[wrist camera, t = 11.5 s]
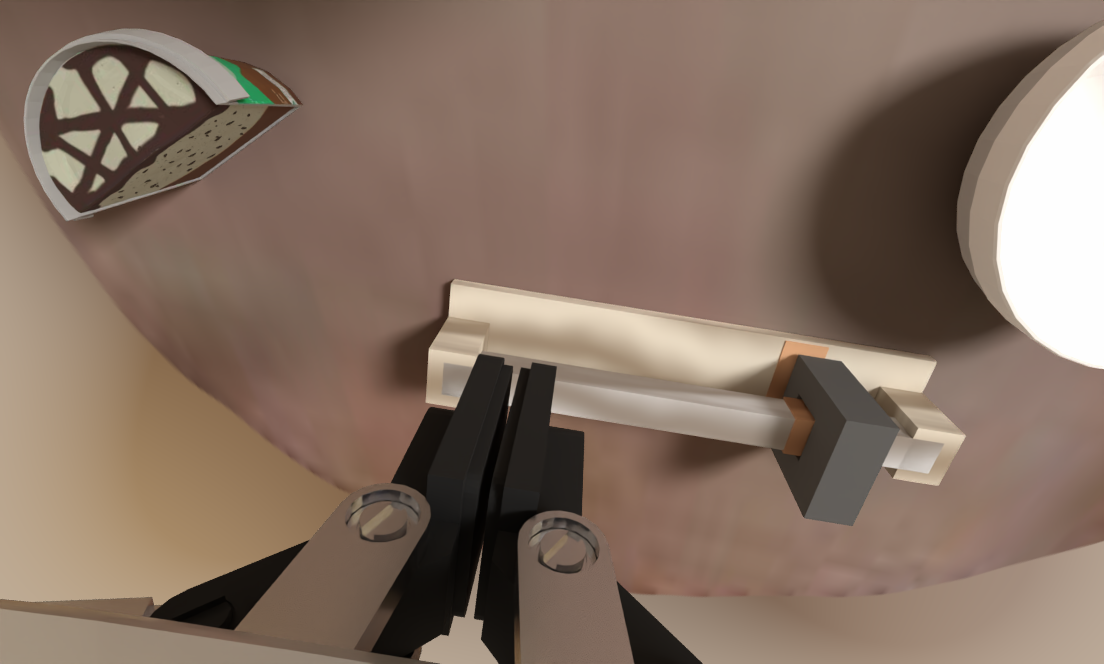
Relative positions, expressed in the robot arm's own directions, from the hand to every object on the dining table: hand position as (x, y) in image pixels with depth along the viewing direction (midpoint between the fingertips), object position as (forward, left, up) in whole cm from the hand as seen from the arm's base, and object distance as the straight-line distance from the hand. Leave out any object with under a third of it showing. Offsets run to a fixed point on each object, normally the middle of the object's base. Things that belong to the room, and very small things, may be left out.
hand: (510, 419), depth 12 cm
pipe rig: (+12, +10, -27) cm, 31 cm away
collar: (+12, +19, -26) cm, 34 cm away
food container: (-2, -23, -27) cm, 36 cm away
